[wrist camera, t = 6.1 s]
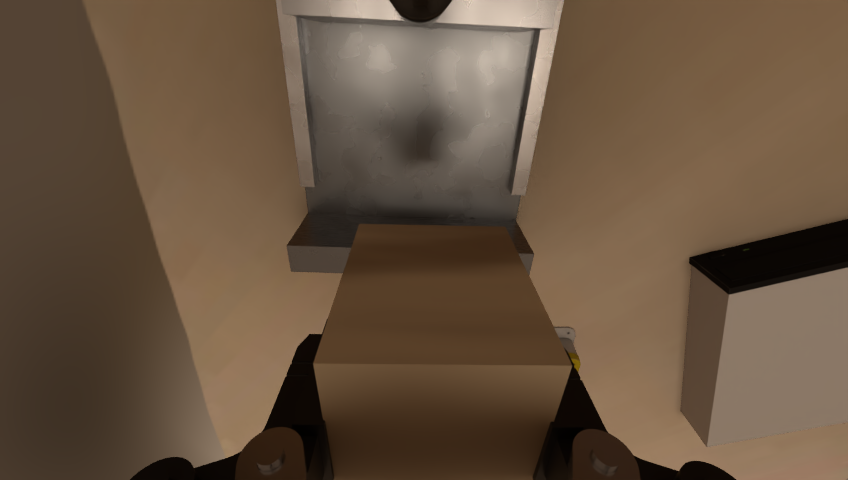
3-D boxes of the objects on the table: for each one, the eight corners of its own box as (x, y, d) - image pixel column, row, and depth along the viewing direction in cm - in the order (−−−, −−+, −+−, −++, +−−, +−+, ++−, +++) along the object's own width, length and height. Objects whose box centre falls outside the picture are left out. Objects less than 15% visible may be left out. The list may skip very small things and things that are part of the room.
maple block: (359, 224, 12) (313, 363, 7) (505, 226, 12) (572, 365, 7) (366, 333, 14) (337, 499, 9) (488, 335, 14) (528, 499, 9)
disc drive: (911, 198, 29) (999, 225, 25) (840, 376, 40) (893, 417, 35) (686, 253, 31) (729, 287, 27) (676, 407, 42) (706, 449, 38)
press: (280, -84, 20) (223, -135, 14) (562, -66, 20) (618, -109, 14) (316, 232, 29) (291, 277, 24) (506, 239, 30) (526, 284, 24)
